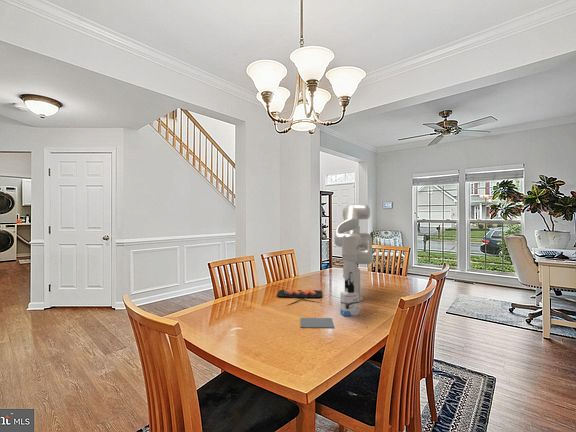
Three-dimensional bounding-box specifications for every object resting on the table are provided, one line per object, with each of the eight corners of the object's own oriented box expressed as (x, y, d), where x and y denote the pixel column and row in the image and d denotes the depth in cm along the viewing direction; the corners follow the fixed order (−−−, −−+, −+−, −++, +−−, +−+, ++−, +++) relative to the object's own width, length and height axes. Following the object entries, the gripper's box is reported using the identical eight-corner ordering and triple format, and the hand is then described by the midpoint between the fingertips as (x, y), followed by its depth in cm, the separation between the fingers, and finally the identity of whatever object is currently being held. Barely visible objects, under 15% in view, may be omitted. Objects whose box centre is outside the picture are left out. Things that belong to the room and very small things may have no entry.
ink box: (344, 316, 159) (344, 294, 158) (340, 313, 163) (340, 291, 163) (359, 315, 161) (359, 292, 161) (354, 312, 166) (354, 290, 165)
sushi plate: (322, 293, 205) (322, 287, 205) (322, 307, 175) (322, 301, 175) (279, 292, 208) (279, 286, 208) (272, 306, 178) (272, 300, 178)
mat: (300, 318, 156) (300, 317, 156) (331, 319, 156) (331, 318, 156) (300, 327, 144) (300, 326, 144) (334, 328, 144) (334, 327, 144)
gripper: (340, 255, 170) (340, 286, 170) (344, 260, 153) (344, 294, 153) (353, 255, 170) (353, 286, 170) (359, 260, 152) (359, 294, 152)
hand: (349, 290), depth 161 cm, fingers open, 9 cm apart
